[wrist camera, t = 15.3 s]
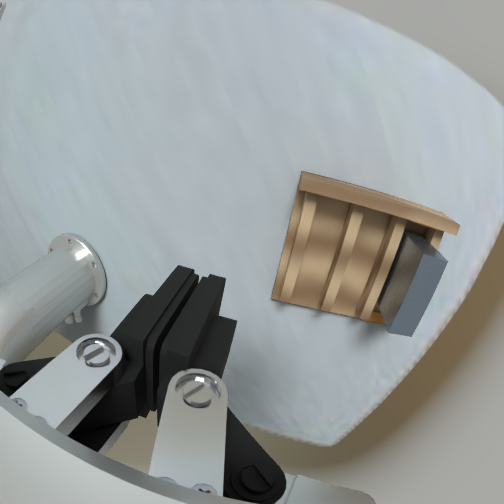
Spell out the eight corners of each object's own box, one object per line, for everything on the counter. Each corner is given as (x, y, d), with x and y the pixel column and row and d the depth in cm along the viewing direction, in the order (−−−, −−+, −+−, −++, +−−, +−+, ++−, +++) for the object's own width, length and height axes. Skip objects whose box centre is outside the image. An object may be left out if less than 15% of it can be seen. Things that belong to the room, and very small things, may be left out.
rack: (396, 323, 37) (405, 345, 32) (271, 296, 38) (266, 318, 34) (442, 212, 30) (460, 225, 26) (301, 171, 32) (301, 177, 27)
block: (394, 298, 35) (411, 336, 27) (374, 293, 35) (387, 332, 28) (420, 233, 31) (447, 261, 24) (399, 226, 31) (423, 254, 24)
